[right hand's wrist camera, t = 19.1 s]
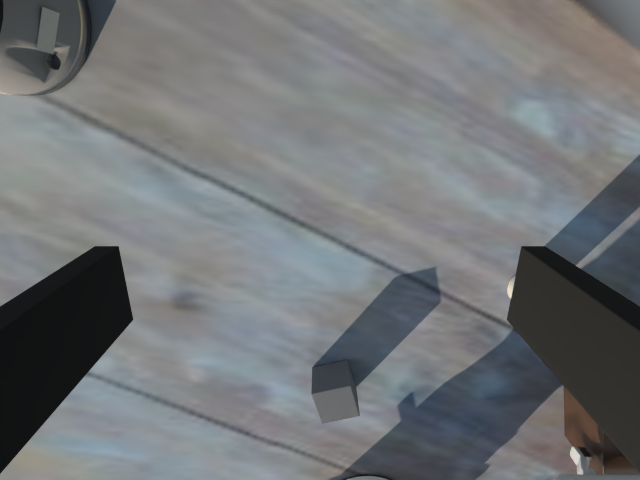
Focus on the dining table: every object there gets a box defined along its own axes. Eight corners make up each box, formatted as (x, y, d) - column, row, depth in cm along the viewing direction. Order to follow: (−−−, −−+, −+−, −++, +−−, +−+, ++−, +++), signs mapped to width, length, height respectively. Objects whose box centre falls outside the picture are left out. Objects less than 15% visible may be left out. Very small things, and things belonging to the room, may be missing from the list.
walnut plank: (560, 296, 47) (606, 332, 40) (601, 287, 47) (655, 322, 39) (564, 435, 55) (602, 487, 48) (599, 429, 55) (643, 480, 47)
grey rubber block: (312, 367, 51) (311, 393, 46) (347, 359, 51) (350, 385, 46) (321, 395, 53) (321, 423, 48) (356, 387, 52) (359, 416, 47)
